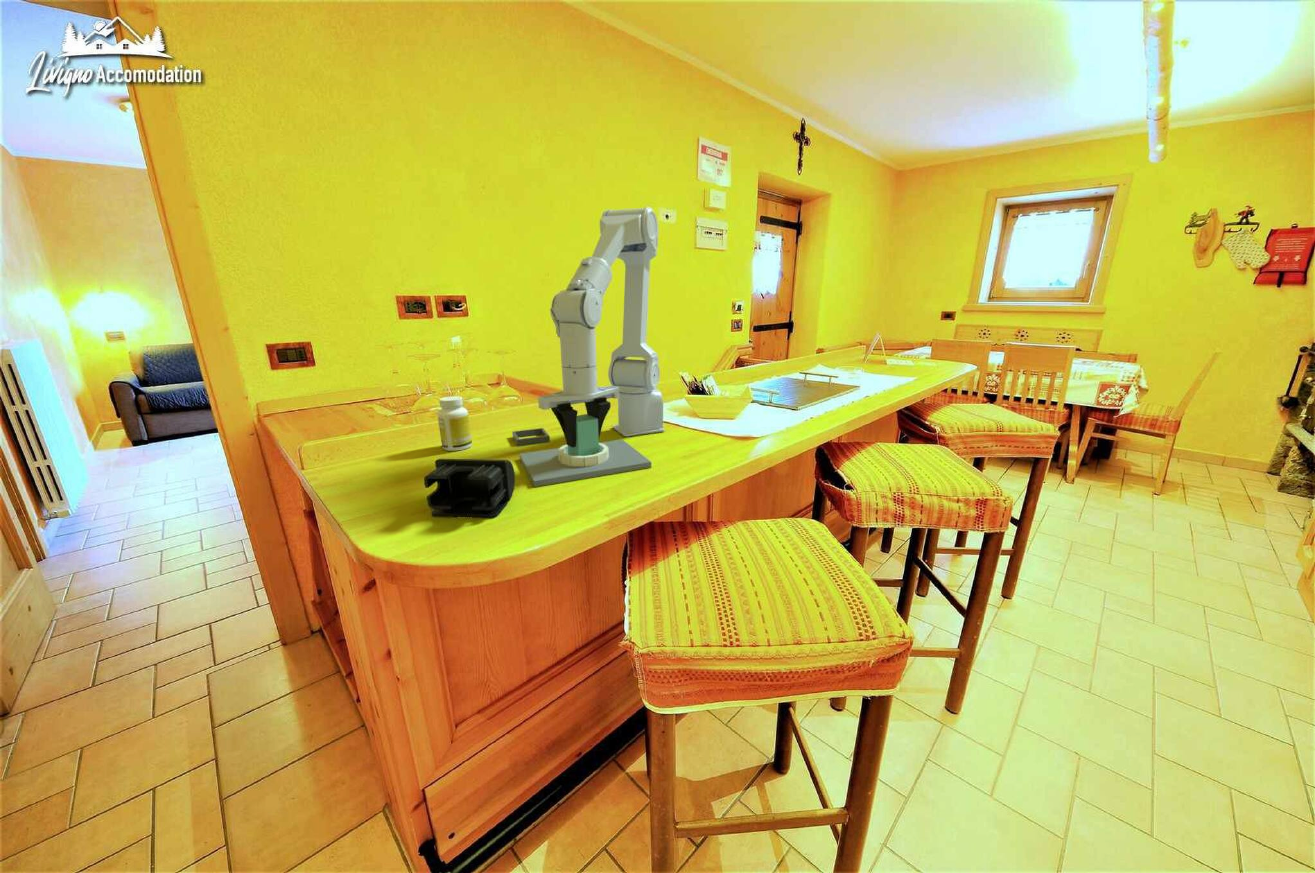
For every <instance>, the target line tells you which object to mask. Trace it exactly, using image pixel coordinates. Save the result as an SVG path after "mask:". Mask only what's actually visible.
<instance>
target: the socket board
mask: <svg viewBox="0 0 1315 873" xmlns="http://www.w3.org/2000/svg"><path fill="white" fill-rule="evenodd" d="M519 460H520V461H521V464H522V466H523V468H524V470H525V471H526V474H527V475H528V477H529V479H530V481H531V483H532V485H533V487H534V488H537V487H542V486H548V485H554V484H560V483H567V482H572V481H577V480H584V479H590V478H591V479H592V478H596V477H602V476H607V475H613V474H620V473H627V472H631V471H637V470H643V469H645V470H646V469H649V468H652V461H651V460H650V459H648V458H647V457H646V456H645V455H643V454H642V453H641V452H640V451H638V450H636V448H634V447H633V446H632V445H631V444H629V443H628V442H626V441H625V440H624V439H615V440H609V441H608V440H607V441H601V442H599V453H597V454H594V455H588V456H572V455H568V445H567V444H564V445H562V446H560V447H558V448H551V449H544V450H537V451H536V450H535V451H529V452H521V453H519Z"/></svg>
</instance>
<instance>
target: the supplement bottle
mask: <svg viewBox="0 0 1315 873" xmlns="http://www.w3.org/2000/svg"><path fill="white" fill-rule="evenodd" d="M463 404H464V402H463V397H462V396H456V395H455V396H454V395H453V396H452V395H451V396H445V397H442V398H439V406H440V408H441V409H440V410H439V411H438V412H437V421H438V422H437V423H438V427H439V434H440V436H439V437H440V441H441V446H442V450H445V451H448V452H449V451H450V452H454V451H455V452H456V451H463V450H466V449H469V448H471V446H472V444H473V440H472V432H471V426H470V425H471V424H470V419H469V418H470V417H469V412H468V409H466V408H465V407H463Z"/></svg>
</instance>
